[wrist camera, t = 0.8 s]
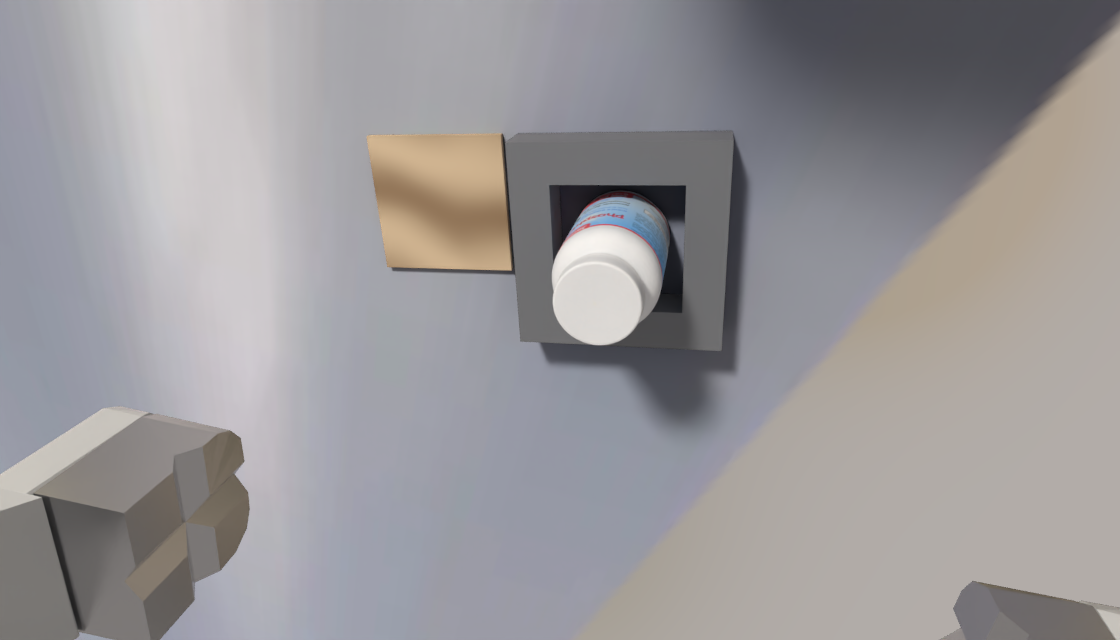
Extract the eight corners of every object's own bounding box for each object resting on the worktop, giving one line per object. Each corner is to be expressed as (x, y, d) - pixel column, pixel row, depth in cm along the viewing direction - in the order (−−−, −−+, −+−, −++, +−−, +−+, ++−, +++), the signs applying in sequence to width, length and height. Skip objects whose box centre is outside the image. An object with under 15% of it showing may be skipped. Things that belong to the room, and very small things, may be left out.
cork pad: (369, 135, 45) (366, 136, 45) (502, 133, 43) (500, 134, 43) (389, 265, 49) (387, 267, 49) (513, 268, 47) (511, 270, 47)
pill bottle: (623, 168, 43) (596, 221, 33) (690, 237, 44) (684, 309, 34) (557, 232, 45) (513, 300, 35) (622, 296, 46) (597, 379, 36)
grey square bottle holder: (517, 133, 43) (505, 142, 40) (732, 130, 41) (733, 140, 38) (531, 322, 49) (520, 341, 46) (721, 330, 46) (721, 351, 43)
